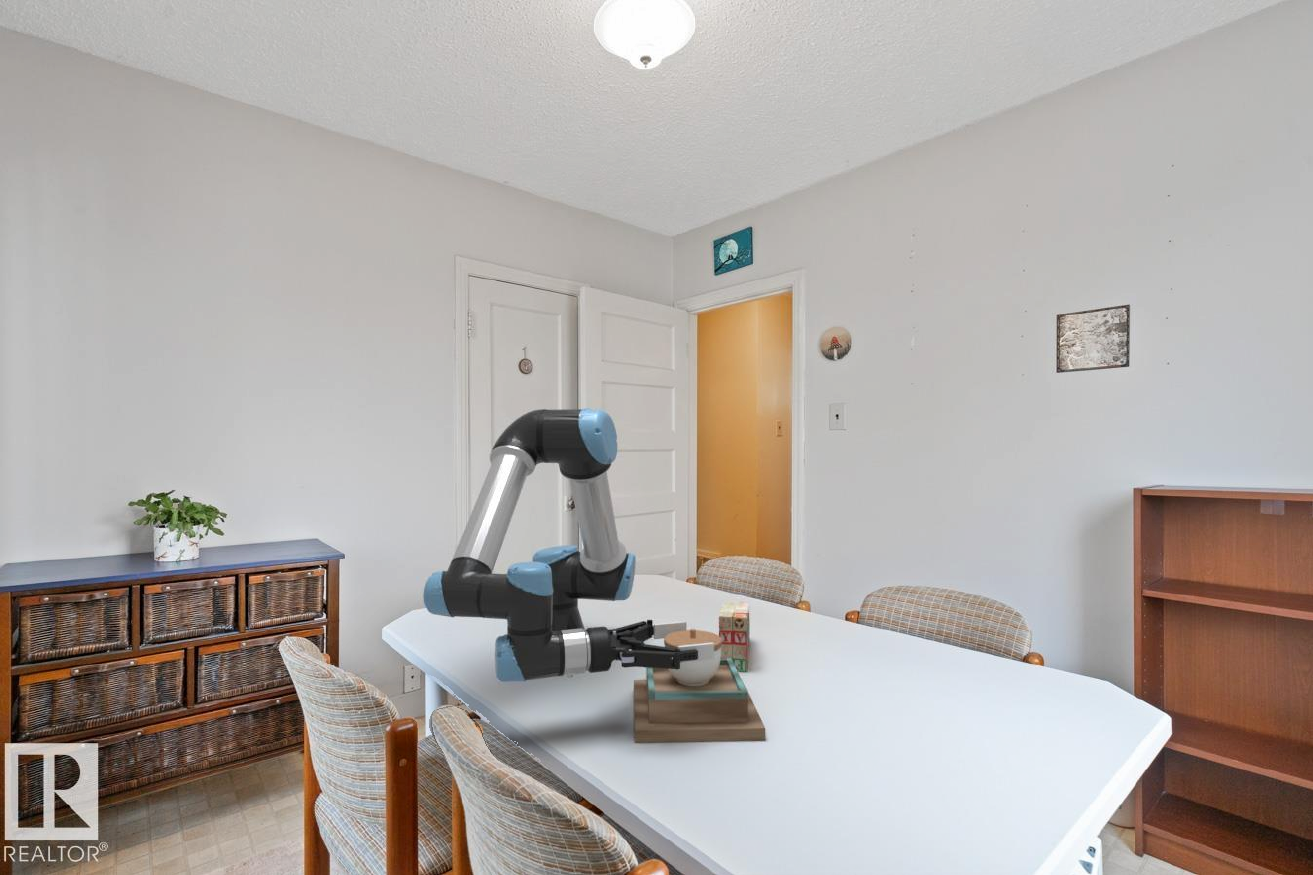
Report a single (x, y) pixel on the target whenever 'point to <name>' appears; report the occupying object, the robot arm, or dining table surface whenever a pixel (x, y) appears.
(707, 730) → the base
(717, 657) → the lidded jar
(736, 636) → the stack of blocks
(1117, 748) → the dining table surface
